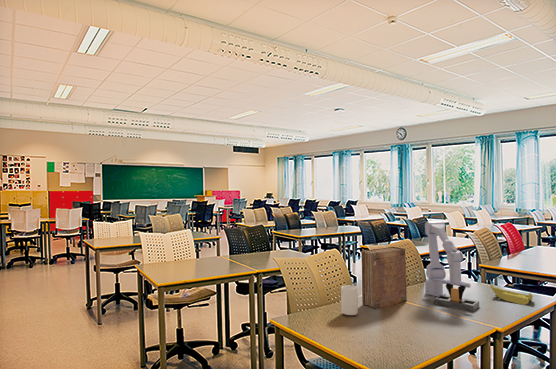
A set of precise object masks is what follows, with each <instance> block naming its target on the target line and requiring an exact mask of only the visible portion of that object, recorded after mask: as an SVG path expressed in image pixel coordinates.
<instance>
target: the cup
mask: <svg viewBox="0 0 556 369" xmlns="http://www.w3.org/2000/svg"><path fill="white" fill-rule="evenodd" d="M340 290H341V291H340V303H341V305H340V306H341V313H342V314H344V315H347V316H354V315H357V314H358V311H359V299H358V297H359V293H358V287H357V286H356V285H352V284H351V285H350V284H349V285H348V284H347V285H346V284H345V285H342V286H341V288H340Z"/></svg>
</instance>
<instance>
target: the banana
mask: <svg viewBox="0 0 556 369" xmlns="http://www.w3.org/2000/svg"><path fill="white" fill-rule="evenodd" d="M489 286H490V289H491V290H492V291H493V293H494V294H495V297H496V298H499V297H500V299H502V300H503V301H505V302H509V303H513V304H518V305H522V306H523V305H524V306H525V305H528V304H529V302H532V301H533V297H534V296H533V294H532V293H531V292H529V293H528V294H524V293H520V292H515V291H510V290H506V289H502V288H499V287H496V286H494V285H493V284H490V285H489Z"/></svg>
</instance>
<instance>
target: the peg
mask: <svg viewBox="0 0 556 369" xmlns="http://www.w3.org/2000/svg"><path fill="white" fill-rule="evenodd" d="M451 300H452V301H457V302H460V301H462V300H459V290H458V287H454V286H453V288H451Z"/></svg>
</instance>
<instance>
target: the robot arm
mask: <svg viewBox="0 0 556 369" xmlns="http://www.w3.org/2000/svg"><path fill="white" fill-rule="evenodd" d="M424 231H425V232H424V234H425V235H426V236H427V242H428V252H429V261H430V263H428V265H426V266H425V267H426V271H425V276H426V279H425V282H424V289H425V293H424V294H425V295H429V296H434V297H437V296H439V295H447V294H446V293H445V292H444V287H443V286H444V285H445V288H446V290H447V292H448V294H449V295H448V296H450V298H451V288H453V287H454V286H458V287H457V288H458V290H459V300H462V298H463V295H464V292H465V290H466V288H467V289H469V288H471V287H472V286H471V283H470V282H464V281H462V263H461V262H463V260H464V255H463V253H462V251H460V250H459V249H457V246H455V244H454V242H453V241H452V240H450V239H449V237H448V235H447V233H446V225H445V222H444V221H443V220H439V221H438V220H437V221H435V220H434V221H429V220H428V221H426V222H425V224H424ZM438 238H439V239H440V240H441V242H442V244H441V246H442V248H443V250H444V251H445V253H446V259H447V265H448V266H449V268H448V269H449V272H448V273H449V279H446V276H447V274H446V270H445V267H444V265H443V264H441V263H440V255H439V246H438Z"/></svg>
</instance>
